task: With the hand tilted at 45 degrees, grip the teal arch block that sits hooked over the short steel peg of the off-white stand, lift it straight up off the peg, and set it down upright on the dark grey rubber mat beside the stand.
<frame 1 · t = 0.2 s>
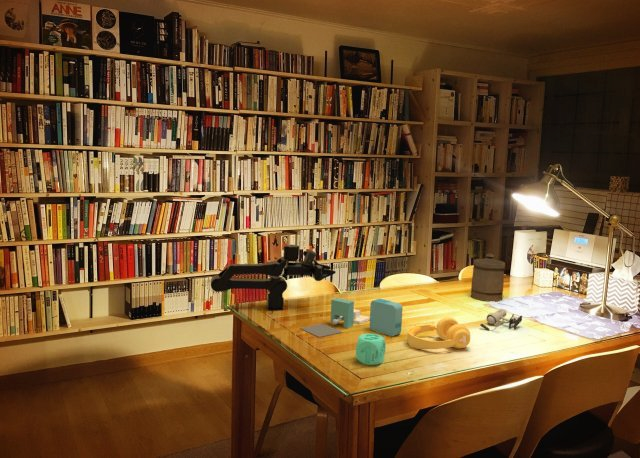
hand: (332, 269, 243), 17 cm above the table, tool horizontal, fingers open, 9 cm apart
grey mat: (321, 330, 212), on the table
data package: (384, 332, 213), on the table
clip-on lamp: (499, 327, 225), on the table
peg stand: (341, 325, 219), on the table
decorative dice: (370, 361, 183), on the table
teal arch block: (341, 325, 219), on the table
headset: (436, 345, 201), on the table
wooden container: (486, 298, 271), on the table
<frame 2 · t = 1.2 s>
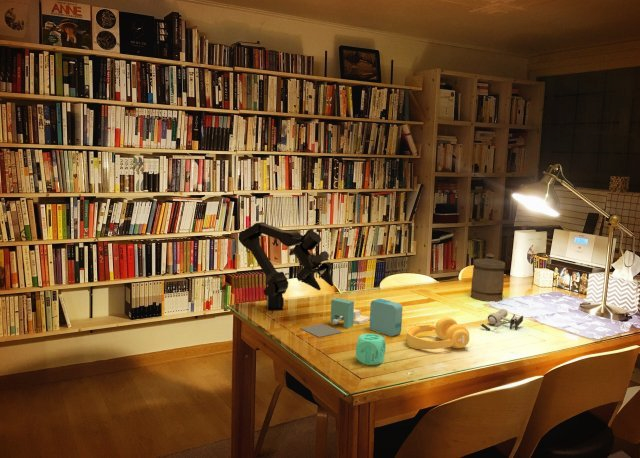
hand: (326, 287, 222), 14 cm above the table, tool tilted 45°, fingers open, 9 cm apart
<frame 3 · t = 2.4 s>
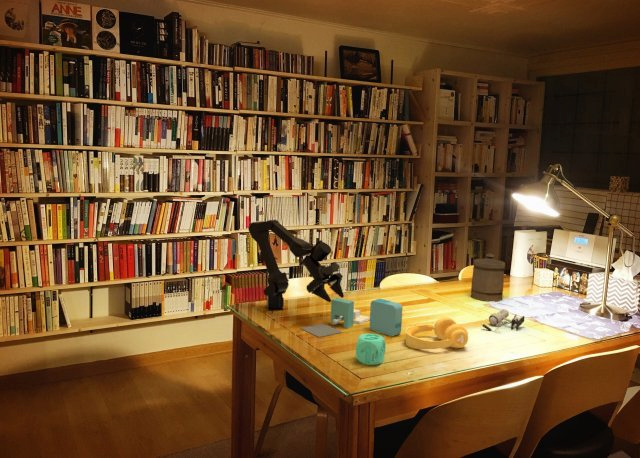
hand: (336, 299, 220), 10 cm above the table, tool tilted 45°, fingers open, 9 cm apart
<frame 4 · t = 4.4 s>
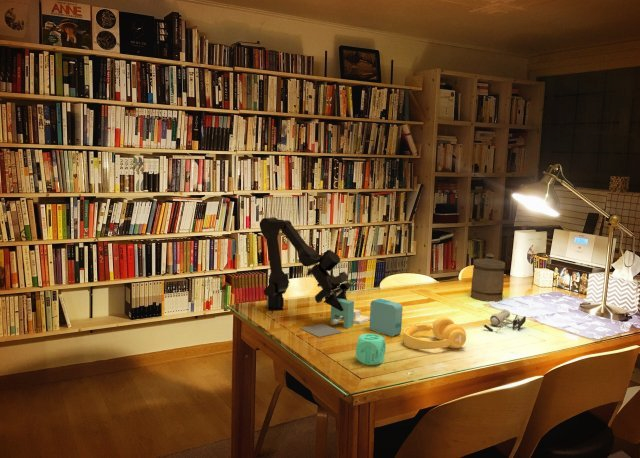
hand: (345, 309, 218), 7 cm above the table, tool tilted 45°, fingers closed on teal arch block, 4 cm apart
teal arch block: (341, 325, 219), on the table, touching gripper
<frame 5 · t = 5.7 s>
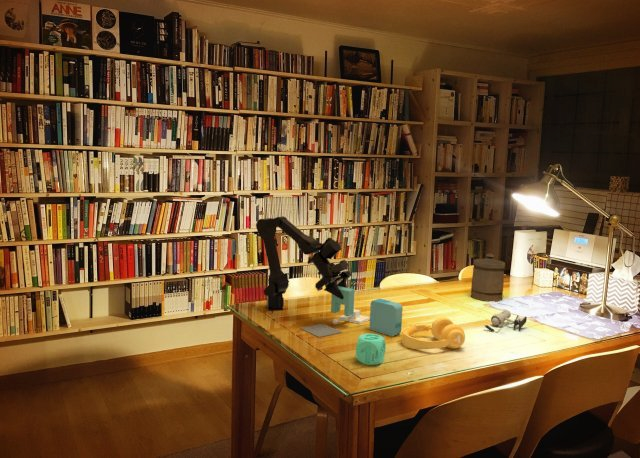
hand: (345, 297, 217), 11 cm above the table, tool tilted 45°, fingers closed on teal arch block, 4 cm apart
teal arch block: (342, 313, 219), point 5 cm above the table, touching gripper
when the fingers open (8 cm above the table, at t = 8.0 s): teal arch block drops 1 cm, resting on grey mat.
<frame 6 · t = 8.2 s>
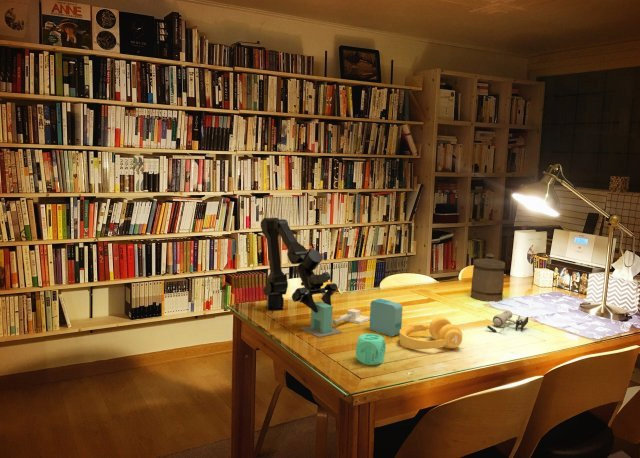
hand: (323, 311, 209), 8 cm above the table, tool tilted 45°, fingers open, 6 cm apart
teal arch block: (321, 329, 212), resting on grey mat
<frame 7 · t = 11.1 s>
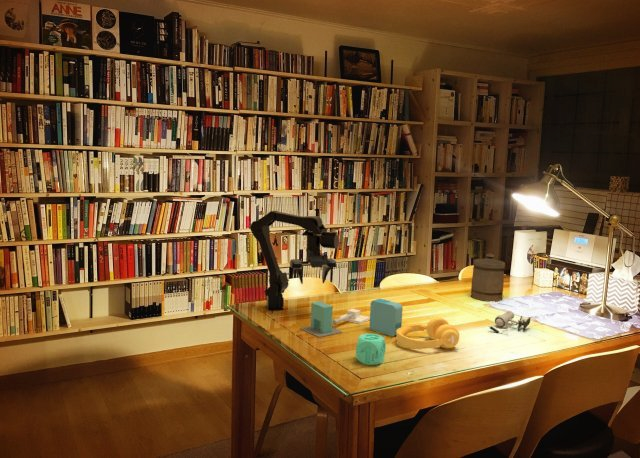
hand: (312, 283, 232), 13 cm above the table, tool pointing down, fingers open, 9 cm apart
headset: (426, 345, 201), on the table
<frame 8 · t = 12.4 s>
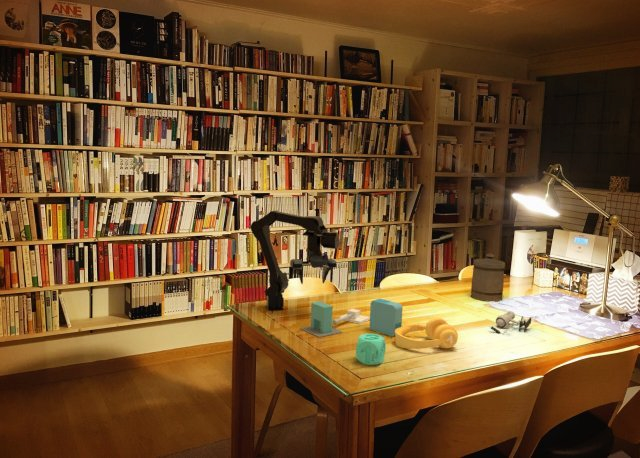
hand: (312, 283, 232), 13 cm above the table, tool pointing down, fingers open, 9 cm apart
at the end: teal arch block 0.0 cm off-centre on the grey mat, point 0.3 cm above the grey mat's base; teal arch block tilted 0°; teal arch block touching grey mat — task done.
